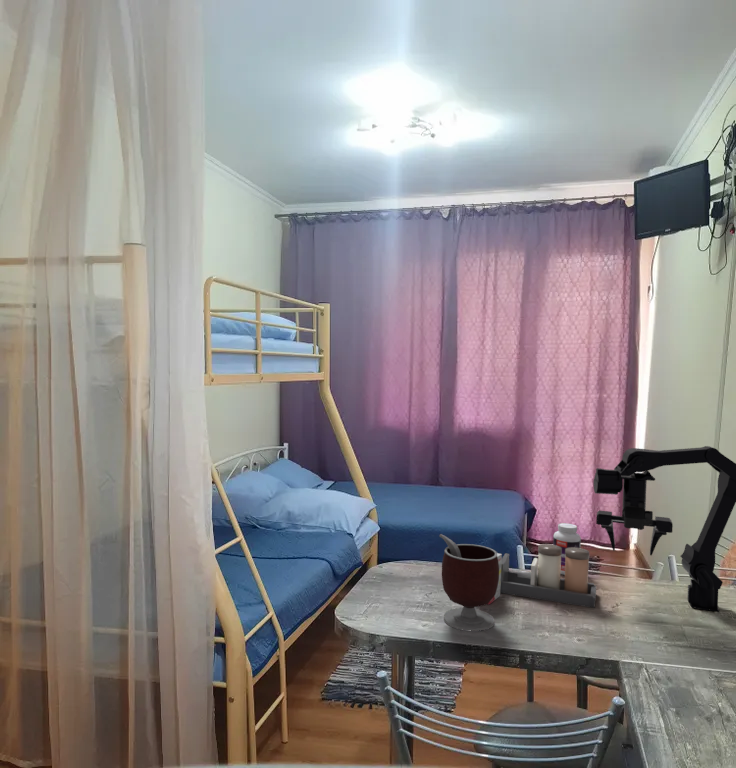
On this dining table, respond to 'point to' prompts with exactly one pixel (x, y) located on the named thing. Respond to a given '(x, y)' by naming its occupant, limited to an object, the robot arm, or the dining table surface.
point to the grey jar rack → (542, 588)
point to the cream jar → (549, 566)
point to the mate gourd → (469, 583)
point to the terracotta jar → (576, 570)
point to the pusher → (530, 573)
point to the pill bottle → (566, 540)
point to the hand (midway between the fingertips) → (632, 552)
